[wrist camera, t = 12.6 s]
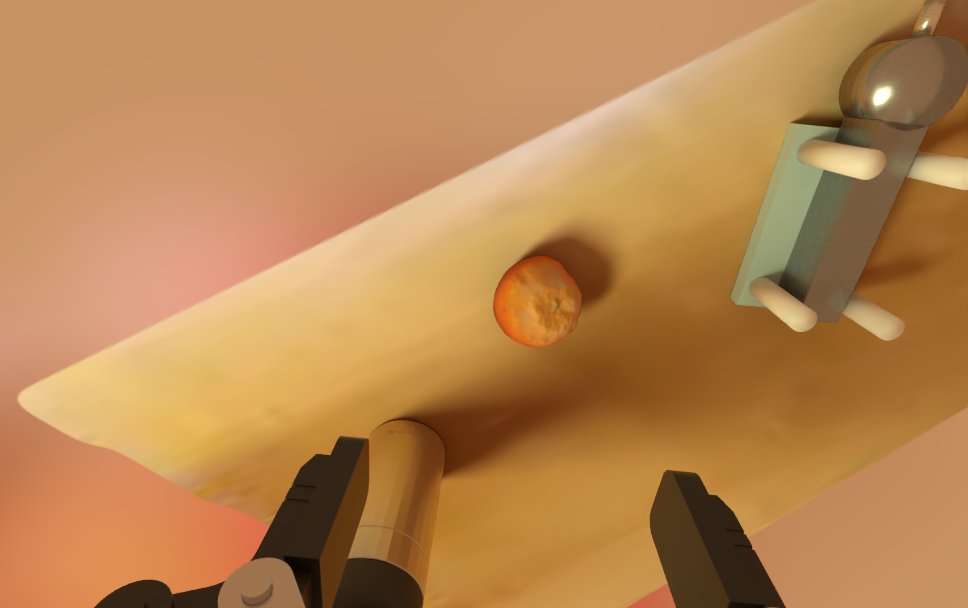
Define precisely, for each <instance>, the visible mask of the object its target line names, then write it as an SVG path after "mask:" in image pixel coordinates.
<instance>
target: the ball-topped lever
mask: <svg viewBox="0 0 968 608" xmlns="http://www.w3.org/2000/svg"><path fill="white" fill-rule="evenodd" d="M947 1H948V0H925V2H924V5H923V7H922V9H921V12H920V14H919V16H918V19H917V21H916V24H915V26H914V28H913V31H912V33H911V36H910V38H909V39H903V40H895V41H887V42H883V43H880V44H877V45H875V46H873V47H871V48H869V49H868V50H866V51H865V52H863V53H862V54H861V55H860V56H859V57H858V58H857V59H856V60H855V61H854V62H853V63H852V64H851V66H850V67H849V68H848V70H847V72H846V73H845V75H844V77H843V80H842V82H841V85H840V90H839V105H840V108H841V111H842V113H843V115H844V116H845V117H844V119H843V122H842V124H841V127H840V130H839V132H838V135H837V137H836V140H835V142H834V143H839V144H845V145H851V146H857V147H863V148H869V149H875V150H880V151H882V152H883V153H884V154H885V157H886V164H885V167H884V169H883V170H882V172H881V173H880V174H879V175H877V176H876V177H874V178H872V179H869V180H862V179H858V178H854V177H850V176H846V175H843V174H839V173H835V172H831V171H827V170H823V173H822V175H821V178H820V181H819V183H818V186H817V188H816V191H815V193H814V196H813V198H812V201H811V203H810V206H809V209H808V211H807V214H806V216H805V219H804V221H803V224H802V226H801V229H800V231H799V234H798V237H797V239H796V242H795V244H794V247H793V249H792V252H791V254H790V257H789V259H788V262H787V265H786V267H785V270H784V272H783V275H782V277H781V280H780V282H779V285H778V286H779V287H781V288H782V289H784V290H785V291H786V292H788V293H789V294H791V295H792V296H793V297H795V298H796V299H798V300H799V301H800V302H802V303H803V304H804V305H806V306H807V307H809V308H810V309H811V310H813V311H814V312H815V313H816V314H817V321H821V322H830V323H837V322H838V320H839V318H840V316H841V314H842V312H843V310H844V307H845V305H846V303H847V301H848V299H849V297H850V295H851V292H852V290H853V288H854V286H855V284H856V282H857V280H858V277H859V275H860V273H861V271H862V269H863V267H864V265H865V262H866V260H867V258H868V256H869V254H870V252H871V250H872V247H873V245H874V243H875V241H876V239H877V237H878V235H879V232H880V230H881V228H882V226H883V224H884V222H885V220H886V217H887V215H888V213H889V211H890V209H891V207H892V205H893V202H894V200H895V198H896V196H897V194H898V192H899V190H900V187H901V185H902V183H903V181H904V179H905V177H906V175H907V172H908V170H909V168H910V166H911V164H912V162H913V160H914V157H915V155H916V153H917V151H918V149H919V147H920V145H921V142H922V140H923V138H924V136H925V134H926V132H927V130H928V127H929V126H928V125H930V124H932V123H934V122H936V121H937V120H939V119H940V118H942V117H943V116H944V115H945V114H946V113H948V112H949V111H950V110H951V109H952V108H953V106H954V105H955V104H956V103H957V102H958V100H959V99H960V97H961V96H962V94H963V92H964V90H965V88H966V85H967V83H968V52H967V50H966V48H965V47H964V45H963V44H962V43H961V42H959V41H958V40H956V39H954V38H952V37H949V36H939V35H938V36H932V35H933V33H934V31H935V28H936V26H937V24H938V22H939V19H940V17H941V15H942V12H943V10H944V8H945V5H946V3H947Z"/></svg>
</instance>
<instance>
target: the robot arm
mask: <svg viewBox="0 0 968 608" xmlns="http://www.w3.org/2000/svg"><path fill="white" fill-rule="evenodd" d="M445 453H446V452H445V447H444V444H443V442H442V440H441V439H440V437H439V436H438V435H437V434H436V433H435V432H434V431H433V430H432V429H431V428H429V427H427V426H425V425H423V424H421V423H418V422H415V421H409V420H396V421H390V422H387V423H385V424H382V425H381V426H379V427H378V428H376V429H375V430H374V431H373V432H372V434H371V435H370V437H369V439H367V438H357V437H347V436H340V437H339V438H338V440H337V442H336V444H335V447H334V449H333V451H332V453H331V455H323V454H316V455H315V456H314V457H313V458H311V459H310V460H309V461H308V462H307V463H306V464H305V465H303V466H302V467H301V469H300V471H299V472H298V474H297V476H296V478H295V480H294V482H293V484H292V488H290V489H289V491H288V493H287V495H286V497H285V501H284V502H283V503H282V505H281V506H280V508H279V510H278V512H277V514H276V516H275V518H274V520H273V522H272V524H271V525H270V527H269V529H268V531H267V533H266V535H265V537H264V539H263V541H262V543H261V544H260V546H259V548H258V550H257V552H256V554H255V555H254V557H253V559H252V560H251V561H250V562H248V563H246V564H244V565H243V566H241V567H240V568H238V569H237V570H236V571H234V572H233V573H232V574H231V575H230V576H229V577H228V578H227V580H226V581H224V582H222V583H219V584H217V585H214V586H210V587H206V588H201V589H196V590H191V591H187V592H182V593H177V594H172V593H171V591H170V589H169V587H167V585H166V584H164V583H163V582H160V581H157V580H141V581H136V582H133V583H130V584H128V585H126V586H123V587H121V588H119V589H117V590H115V591H114V592H112V593H111V594H109V595H108V596H106V597H105V598H104V599H103V600H101V601H100V602H99V604H97V605H96V606H95V607H94V608H422V607H423V600H424V593H425V587H426V580H427V574H428V566H429V559H430V553H431V546H432V540H433V533H434V527H435V520H436V513H437V507H438V500H439V494H440V487H441V482H442V475H443V468H444V462H445ZM650 529H651V534H652V537H653V540H654V543H655V546H656V549H657V552H658V555H659V558H660V561H661V564H662V567H663V570H664V573H665V576H666V579H667V582H668V585H669V588H670V591H671V594H672V597H673V599H674V603H675V605H676V608H786V607H785V605H784V603H783V602H782V600H781V598H780V596H779V594H778V592H777V591H776V589H775V587H774V585H773V583H772V581H771V580H770V578H769V576H768V574H767V572H766V571H765V569H764V567H763V565H762V563H761V561H760V560H759V558H758V556H757V554H756V552H755V551H754V550H752V545H751V543H750V541H749V539H748V538H747V536H746V535H745V534H744V530H743V529H742V527H741V525H740V523H739V521H738V519H737V518H736V516H735V514H734V512H733V511H732V510H731V509H730V508H729V507H728V506H727V505H726V504H725V503H724V502H723V501H722V500H721V499H720V498H719V497H718V496H717V495H709V494H708V492H707V490H706V488H705V486H704V484H703V482H702V480H701V479H700V477H699V476H698V474H696V473H691V472H682V471H672V470H667V471H665V473H664V474H663V477H662V480H661V483H660V486H659V488H658V491H657V494H656V497H655V500H654V503H653V506H652V509H651V513H650Z"/></svg>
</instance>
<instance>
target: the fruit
mask: <svg viewBox="0 0 968 608" xmlns="http://www.w3.org/2000/svg"><path fill="white" fill-rule="evenodd" d="M581 301H582V293H581V291H580V289H579V287H578V285H577V283H576V281H575V279H574V278H573V277H572V276H571V275H570V274H569V273H568V272H567V271H566V270H565V269H564V267H563V266H562V265H561V264H560V263H559V262H558V261H557V260H555V259H553V258H551V257H548V256H536V257H531V258H527V259H525V260H522V261H520V262H518V263H516V264H514V265H513V266H512V267H510V268H509V269H508V270H507V271H506V273H505V274H504V275H503V277H502V279H501V280H500V282H499V284H498V287H497V289H496V291H495V296H494V302H493V310H494V315H495V318H496V320H497V322H498V324H499V326H500V327H501V329H502V330H503V332H504V333H505V334H506V335H507V336H509V337H510V338H511V339H513V340H514V341H516V342H518V343H520V344H523V345H527V346H530V347H544V346H549V345H551V344H554V343H556V342H558V341H560V340H562V339H563V338H564V337H566V336H567V335H568V334H569V333H570V332H571V331H572V330H573V329H574V328H575V327H576V324H577V321H578V317H579V315H580V309H581Z"/></svg>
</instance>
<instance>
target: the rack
mask: <svg viewBox="0 0 968 608" xmlns="http://www.w3.org/2000/svg"><path fill="white" fill-rule="evenodd" d="M839 130H840V128H835V127H825V126H815V125H805V124H796V123H790V125H789V128H788V131H787V133H786V136H785V139H784V142H783V145H782V148H781V151H780V154H779V157H778V160H777V163H776V166H775V168H774V171H773V174H772V177H771V180H770V183H769V186H768V189H767V192H766V195H765V198H764V200H763V203H762V206H761V209H760V212H759V215H758V218H757V221H756V224H755V227H754V230H753V233H752V235H751V238H750V241H749V244H748V247H747V250H746V253H745V256H744V259H743V262H742V265H741V267H740V270H739V273H738V276H737V279H736V282H735V285H734V288H733V291H732V294H731V297H730V299H731V300H733V301H734V302H735V303H736V304H737V305H746V306H756V307H766V308H768V309H769V310H770V311H772V312H773V313H774V314H775V315H776V316H778V317H779V318H780V319H781V320H782V321H784V322H785V323H786V324H787V325H788V326H790V327H791V328H792V329H793V330H795V331H797V332H805V331H808V330H809V329H811V328H812V327H813V326H814V325H815V324H816V322H817V314H816V313H815V312H814V311H813V310H811V309H810V308H809V307H807V306H806V305H804V304H803V303H802V302H800V301H799V300H798V299H796V298H795V297H793V296H792V295H791V294H789V293H788V292H786V291H785V290H784V289H782V288H781V287H779V286H778V285H779V282H780V280H781V277H782V275H783V272H784V270H785V267H786V265H787V262H788V259H789V257H790V254H791V252H792V249H793V247H794V244H795V242H796V239H797V237H798V234H799V231H800V229H801V226H802V224H803V221H804V219H805V216H806V214H807V211H808V209H809V206H810V203H811V201H812V198H813V196H814V193H815V191H816V188H817V186H818V183H819V181H820V178H821V175H822V173H823V170H827V171H831V172H835V173H839V174H843V175H846V176H850V177H854V178H858V179H862V180H869V179H872V178H874V177H876V176H877V175H879V174H880V173H881V172H882V170H883V169H884V167H885V164H886V157H885V154H884V153H883V152H882V151H880V150H875V149H869V148H863V147H857V146H851V145H845V144H839V143H834V142H835V140H836V137H837V135H838V132H839ZM906 177H908V178H912V179H916V180H921V181H925V182H930V183H934V184H939V185H943V186H948V187H952V188H957V189H961V190H968V159H967V158H961V157H955V156H948V155H942V154H935V153H929V152H922V151H917V153H916V155H915V157H914V160H913V162H912V164H911V166H910V168H909V170H908V172H907V175H906ZM900 188H901V187H900ZM894 201H895V200H894ZM893 203H894V202H893ZM889 212H890V211H889ZM888 214H889V213H888ZM887 216H888V215H887ZM886 218H887V217H886ZM883 225H884V224H883ZM882 227H883V226H882ZM881 229H882V228H881ZM880 231H881V230H880ZM879 233H880V232H879ZM877 238H878V237H877ZM876 240H877V239H876ZM875 242H876V241H875ZM874 244H875V243H874ZM873 246H874V245H873ZM872 248H873V247H872ZM871 251H872V250H871ZM870 253H871V252H870ZM869 255H870V254H869ZM868 257H869V256H868ZM867 259H868V258H867ZM866 261H867V260H866ZM865 264H866V262H865ZM864 266H865V265H864ZM863 268H864V267H863ZM862 270H863V269H862ZM861 272H862V271H861ZM860 274H861V273H860ZM859 277H860V275H859ZM859 277H858V279H859ZM857 281H858V280H857ZM856 283H857V282H856ZM855 285H856V284H855ZM854 287H855V286H854ZM853 290H854V288H853ZM853 290H852V292H851V295H850V297H849V299H848V301H847V303H846V305H845V307H844V310H843V312H842V313H843V314H844V315H846V316H847V317H849V318H850V319H852V320H853V321H855V322H856V323H858V324H859V325H861V326H862V327H864V328H865V329H867V330H868V331H870V332H871V333H873V334H874V335H876V336H877V337H879V338H880V339H882V340H886V341H888V340H893V339H895V338H897V337H899V336H900V335H901V334H902V333H903V331H904V329H905V323H904V321H903V320H901V319H900V318H898V317H896V316H895V315H893V314H891V313H889V312H888V311H886V310H884V309H883V308H881V307H879V306H877V305H876V304H874V303H872V302H871V301H869V300H867V299H865V298H864V297H862V296H860V295H859V294H857V293H855V292H853ZM841 315H842V314H841Z"/></svg>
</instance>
